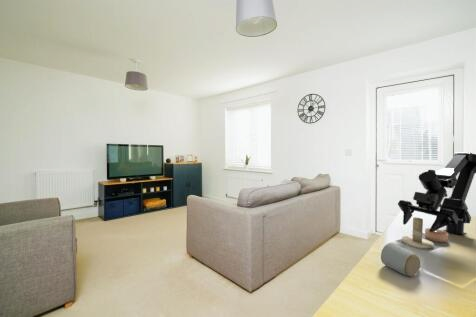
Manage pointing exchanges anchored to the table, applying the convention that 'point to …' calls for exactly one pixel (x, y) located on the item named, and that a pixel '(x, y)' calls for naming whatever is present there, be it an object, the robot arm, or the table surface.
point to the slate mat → (436, 244)
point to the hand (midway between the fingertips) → (416, 227)
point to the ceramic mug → (400, 259)
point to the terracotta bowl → (436, 235)
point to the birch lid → (417, 236)
